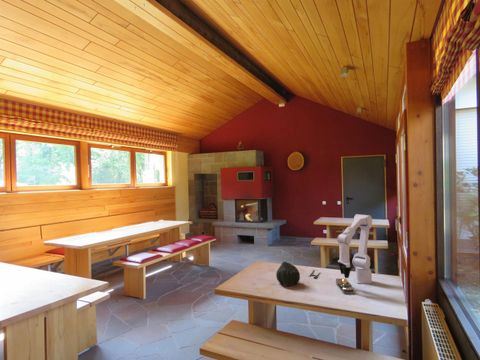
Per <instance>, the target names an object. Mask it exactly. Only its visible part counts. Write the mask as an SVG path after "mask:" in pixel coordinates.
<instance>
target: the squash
mask: <svg viewBox="0 0 480 360" xmlns="http://www.w3.org/2000/svg"><path fill="white" fill-rule="evenodd" d="M300 274H301V273H300V271H299V269H298V268H297V267H296V266H295V265H293V264H291V263H290V262H287V261H283V262H282V263H281V264H280V266H279V267H278V268H277V271H276V273H275V276H276V280H277V281H278V282H279V284H281V286H285V287H289V286H293V285H297V284H298V283H299V281H300V279H301V275H300Z"/></svg>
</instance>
